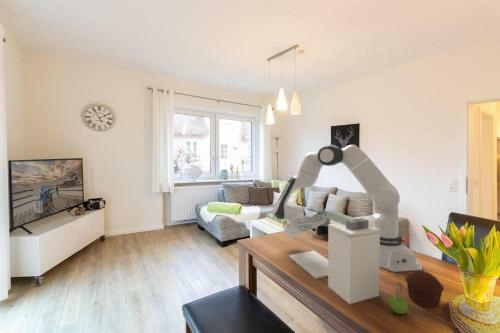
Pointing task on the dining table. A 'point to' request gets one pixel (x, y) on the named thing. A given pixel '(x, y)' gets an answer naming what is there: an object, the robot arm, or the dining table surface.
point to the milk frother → (324, 227)
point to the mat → (312, 263)
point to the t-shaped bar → (348, 220)
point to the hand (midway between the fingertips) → (314, 217)
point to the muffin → (424, 289)
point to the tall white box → (353, 262)
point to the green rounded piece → (398, 301)
